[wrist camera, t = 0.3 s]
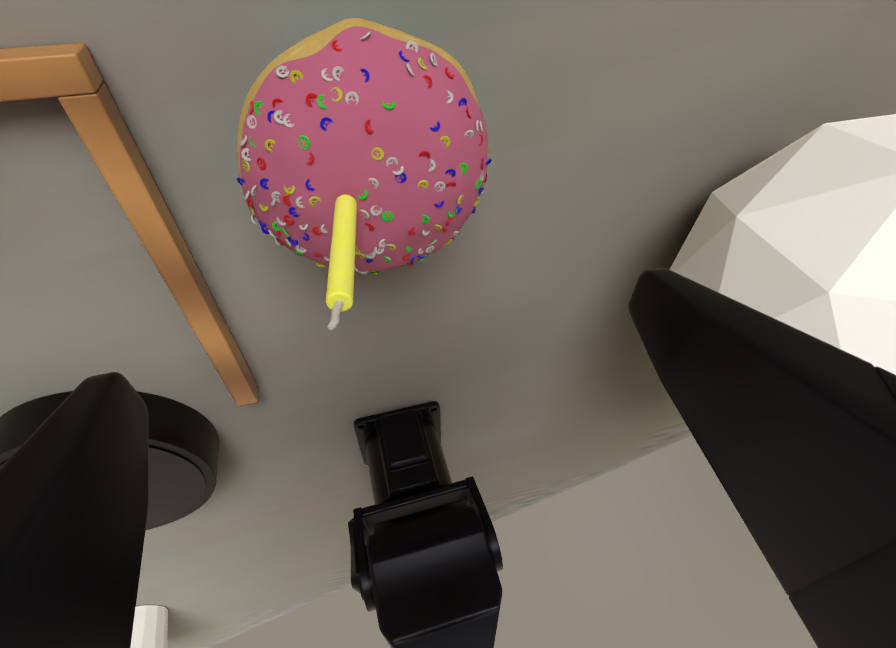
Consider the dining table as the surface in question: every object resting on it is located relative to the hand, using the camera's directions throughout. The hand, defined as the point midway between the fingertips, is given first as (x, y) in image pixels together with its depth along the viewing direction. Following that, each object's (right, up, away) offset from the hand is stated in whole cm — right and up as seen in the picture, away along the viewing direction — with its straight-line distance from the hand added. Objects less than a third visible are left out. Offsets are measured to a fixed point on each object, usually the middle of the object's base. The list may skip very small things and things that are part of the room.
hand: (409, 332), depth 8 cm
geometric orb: (+20, +7, +22) cm, 31 cm away
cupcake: (-3, +9, +11) cm, 15 cm away
